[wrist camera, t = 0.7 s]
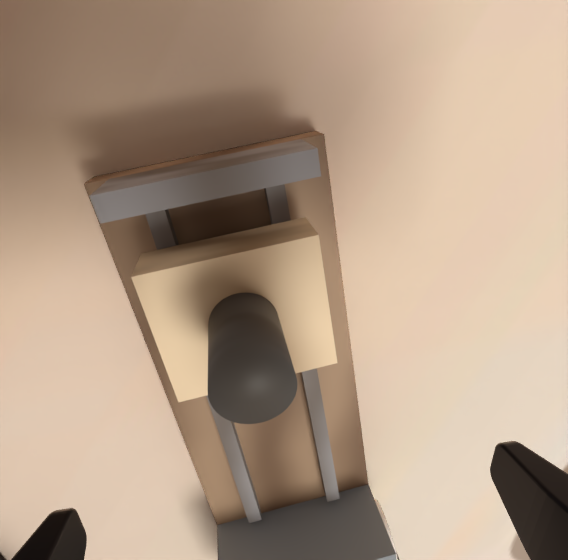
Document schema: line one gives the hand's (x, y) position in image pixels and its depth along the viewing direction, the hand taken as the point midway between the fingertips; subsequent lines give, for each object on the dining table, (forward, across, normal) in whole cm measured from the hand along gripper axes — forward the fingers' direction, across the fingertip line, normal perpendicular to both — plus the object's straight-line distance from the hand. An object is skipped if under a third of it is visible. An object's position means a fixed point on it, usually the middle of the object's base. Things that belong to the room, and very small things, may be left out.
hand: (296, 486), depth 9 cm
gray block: (+13, -1, +20) cm, 24 cm away
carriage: (+11, +1, +1) cm, 11 cm away
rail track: (+13, 0, +6) cm, 14 cm away
